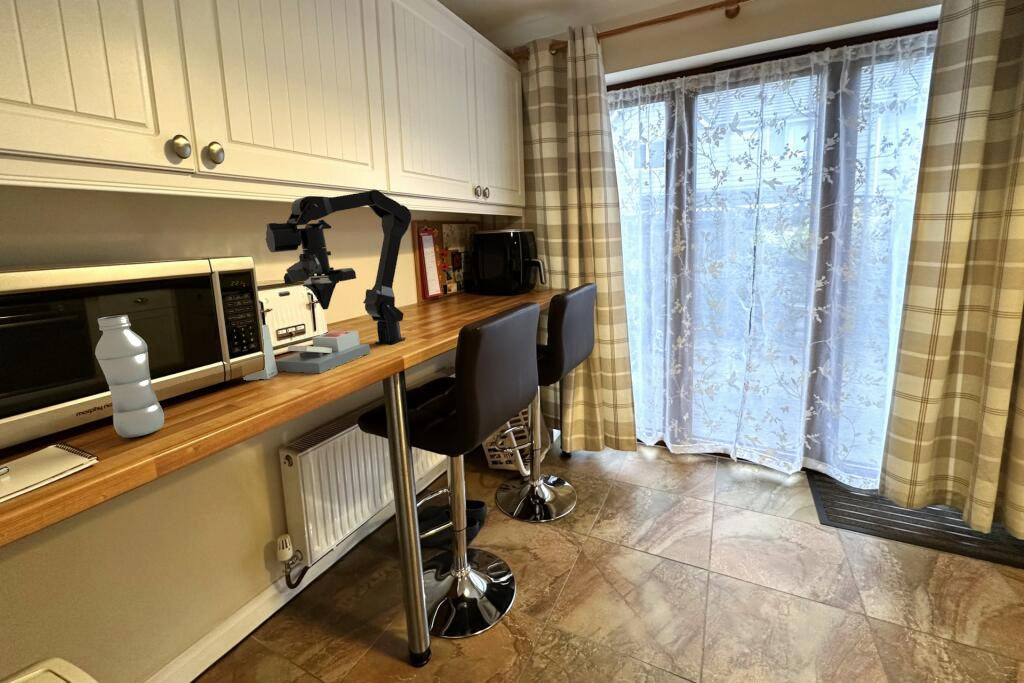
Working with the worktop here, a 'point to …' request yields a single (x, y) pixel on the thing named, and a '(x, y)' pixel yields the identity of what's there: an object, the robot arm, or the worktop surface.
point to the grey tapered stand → (266, 359)
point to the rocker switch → (310, 349)
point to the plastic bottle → (128, 378)
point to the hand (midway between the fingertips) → (325, 309)
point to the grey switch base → (325, 354)
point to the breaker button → (335, 334)
